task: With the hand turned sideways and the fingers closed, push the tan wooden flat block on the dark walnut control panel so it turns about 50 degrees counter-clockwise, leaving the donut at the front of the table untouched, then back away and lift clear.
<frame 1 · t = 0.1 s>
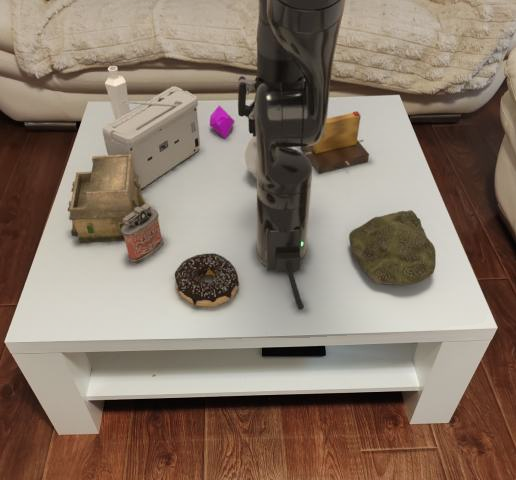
hand: (278, 133, 103), 17 cm above the table, tool pointing down, fingers open, 8 cm apart
decorative rock: (388, 265, 107), on the table
crystal: (222, 131, 134), on the table
donut: (208, 287, 104), on the table
perfume bottle: (125, 132, 134), on the table
panel: (333, 155, 128), on the table
valve: (272, 160, 127), on the table
miniature house: (112, 219, 115), on the table
lighter: (146, 251, 109), on the table
radio: (160, 166, 126), on the table
tan wooden flat block: (336, 132, 123), point 6 cm above the table, hinge at 0.0°
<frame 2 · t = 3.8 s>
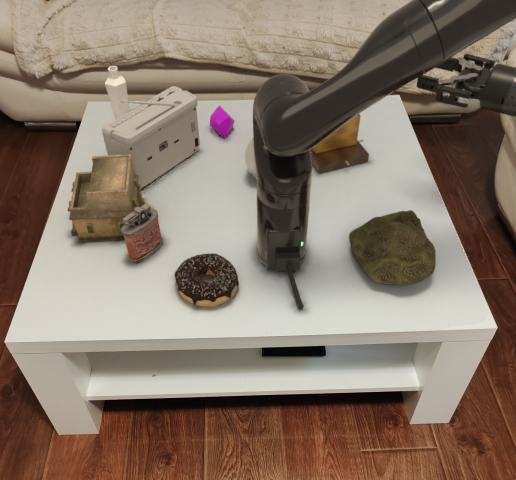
hand: (426, 70, 106), 22 cm above the table, tool horizontal, fingers open, 8 cm apart
nothing on the table moved.
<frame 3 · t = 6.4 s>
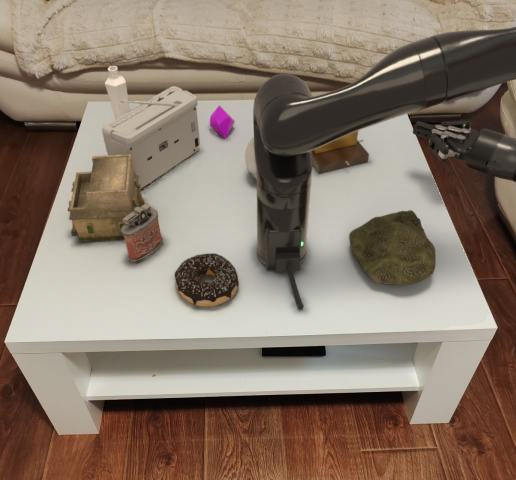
hand: (414, 127, 115), 11 cm above the table, tool horizontal, fingers closed
nothing on the table moved.
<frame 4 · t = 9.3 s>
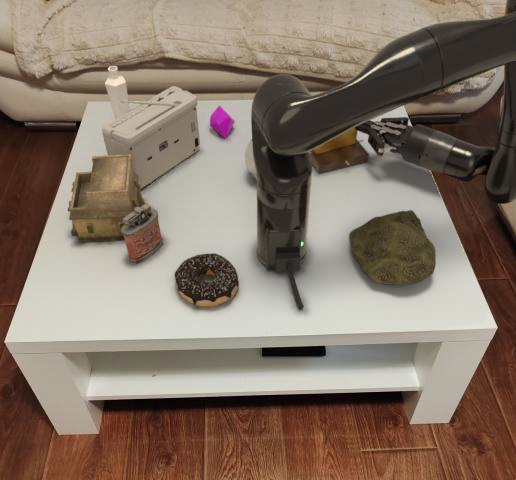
hand: (356, 123, 122), 7 cm above the table, tool horizontal, fingers closed
tan wooden flat block: (336, 132, 123), point 6 cm above the table, hinge at 4.6°
everything else where it was.
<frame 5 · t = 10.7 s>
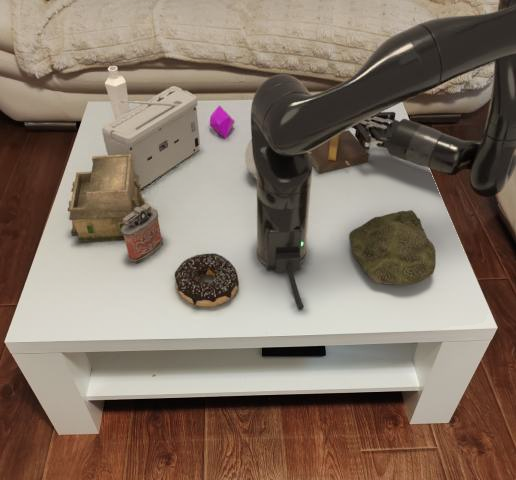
hand: (343, 117, 123), 7 cm above the table, tool horizontal, fingers closed
tan wooden flat block: (336, 132, 123), point 6 cm above the table, hinge at 57.5°
everything else where it was.
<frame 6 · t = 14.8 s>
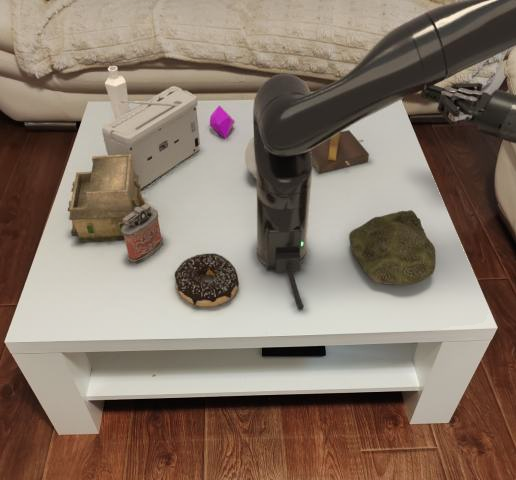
hand: (423, 89, 108), 19 cm above the table, tool horizontal, fingers closed
nothing on the table moved.
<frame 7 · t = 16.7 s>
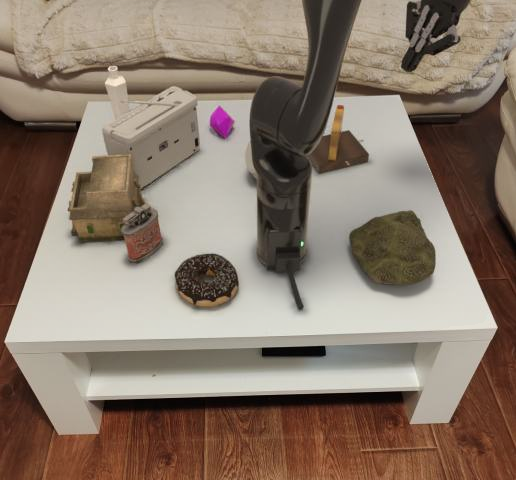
hand: (406, 69, 106), 23 cm above the table, tool tilted 25°, fingers closed
nothing on the table moved.
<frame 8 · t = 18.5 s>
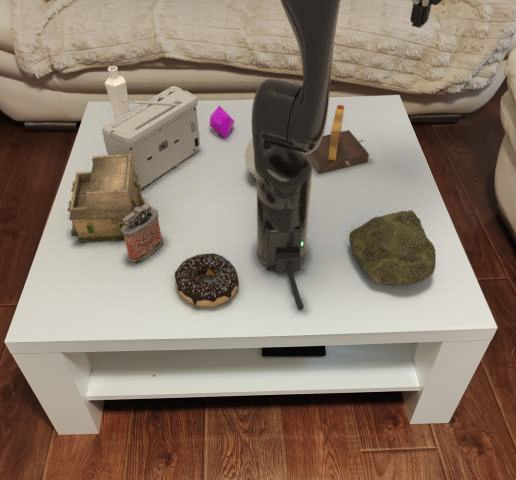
hand: (418, 25, 103), 29 cm above the table, tool pointing down, fingers closed
nothing on the table moved.
at the end: tan wooden flat block at +58° (first picture: +0°); donut moved 0.2 cm from its start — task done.
